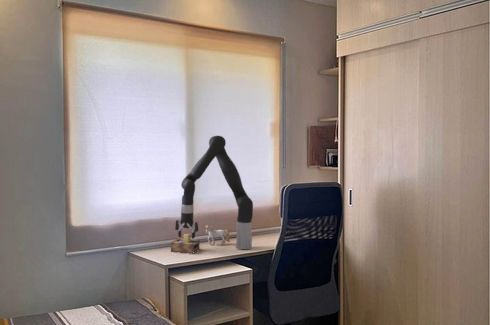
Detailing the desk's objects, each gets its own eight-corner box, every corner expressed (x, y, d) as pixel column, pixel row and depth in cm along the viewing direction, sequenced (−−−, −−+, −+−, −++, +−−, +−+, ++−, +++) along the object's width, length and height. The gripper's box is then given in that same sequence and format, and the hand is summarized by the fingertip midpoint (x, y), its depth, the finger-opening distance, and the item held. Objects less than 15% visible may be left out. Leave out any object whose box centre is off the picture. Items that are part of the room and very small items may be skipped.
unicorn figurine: (198, 245, 320) (199, 224, 319) (225, 242, 330) (226, 222, 329) (203, 247, 314) (203, 227, 313) (230, 244, 324) (231, 224, 323)
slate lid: (198, 242, 308) (198, 233, 307) (193, 246, 300) (193, 236, 300) (180, 241, 311) (180, 232, 311) (175, 244, 303) (175, 235, 303)
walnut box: (199, 249, 310) (199, 239, 310) (192, 254, 299) (192, 244, 298) (178, 247, 314) (178, 237, 313) (170, 251, 302) (170, 242, 302)
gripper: (200, 211, 306) (199, 237, 307) (178, 209, 309) (178, 235, 311) (196, 213, 298) (195, 240, 300) (174, 211, 302) (173, 237, 304)
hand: (186, 237), depth 305 cm, fingers open, 8 cm apart
